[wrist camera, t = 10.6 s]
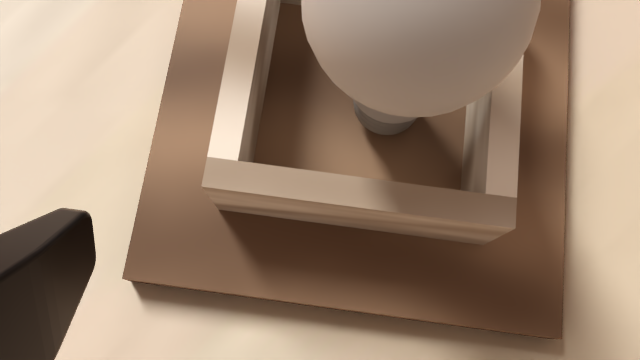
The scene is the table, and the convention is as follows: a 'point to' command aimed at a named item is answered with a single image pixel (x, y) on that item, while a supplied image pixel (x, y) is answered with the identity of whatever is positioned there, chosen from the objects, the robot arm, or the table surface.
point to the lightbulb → (416, 53)
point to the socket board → (353, 182)
